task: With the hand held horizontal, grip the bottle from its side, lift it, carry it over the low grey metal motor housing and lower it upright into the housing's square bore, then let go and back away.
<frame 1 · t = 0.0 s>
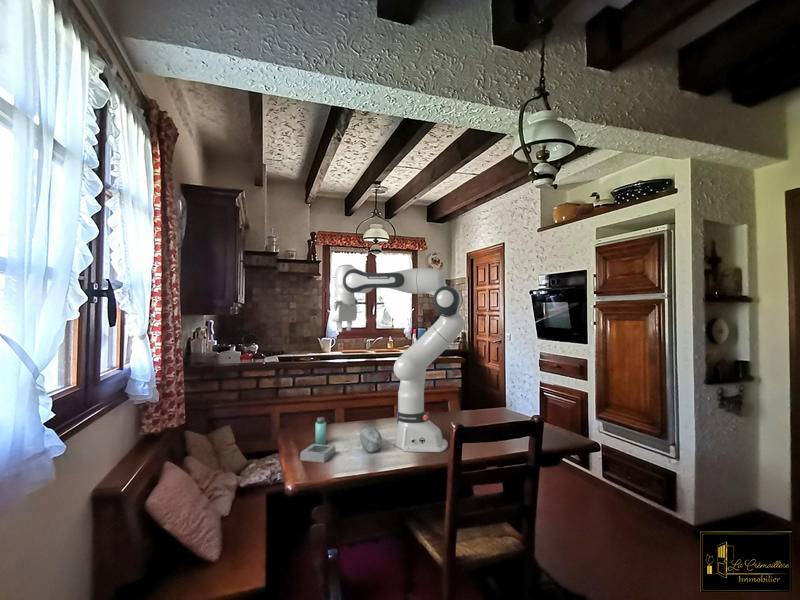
hand: (344, 331, 177), 48 cm above the table, fingers open, 8 cm apart
housing: (318, 456, 153), on the table
spool: (371, 449, 162), on the table
bottle: (320, 443, 168), on the table
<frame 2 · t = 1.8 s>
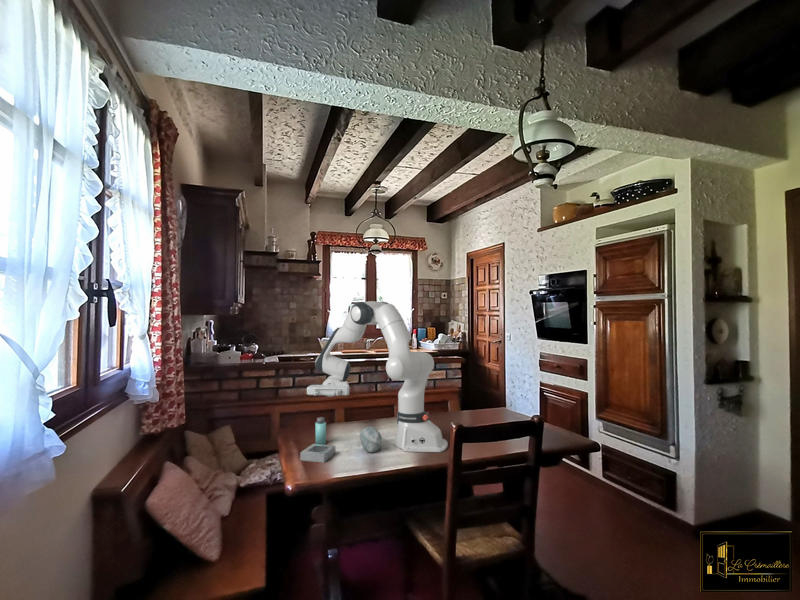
hand: (325, 393, 181), 19 cm above the table, fingers open, 8 cm apart
nothing on the table moved.
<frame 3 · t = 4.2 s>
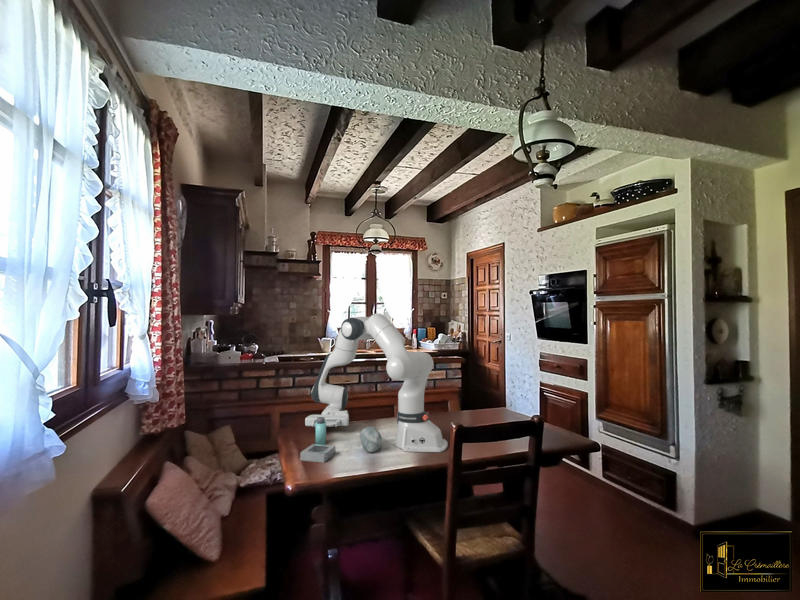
hand: (324, 425, 176), 6 cm above the table, fingers open, 8 cm apart
nothing on the table moved.
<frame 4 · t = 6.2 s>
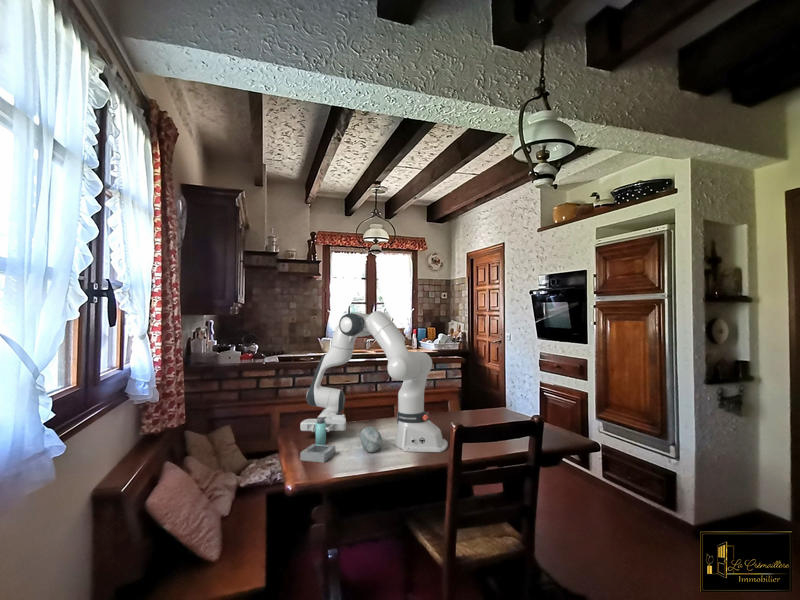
hand: (320, 430, 168), 6 cm above the table, fingers closed on bottle, 4 cm apart
bottle: (320, 443, 168), on the table, touching gripper
everything else where it was.
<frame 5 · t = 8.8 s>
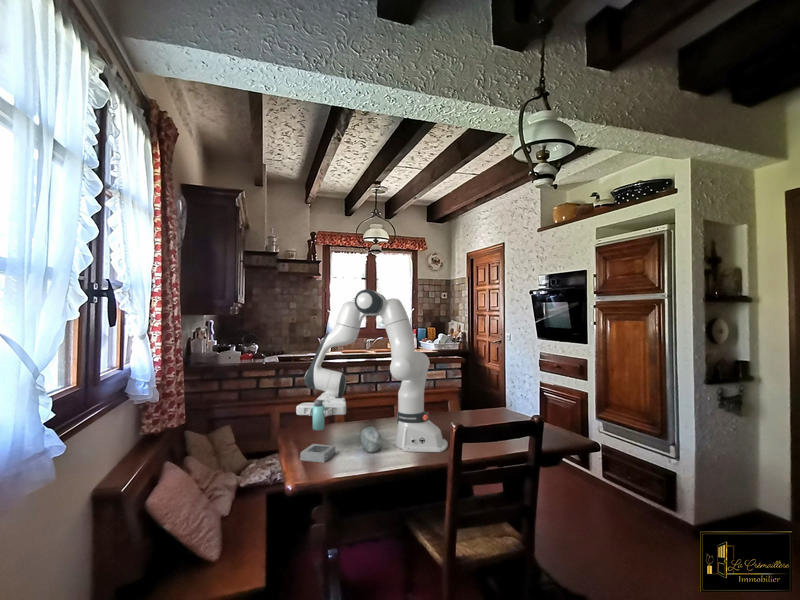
hand: (317, 413, 153), 17 cm above the table, fingers closed on bottle, 4 cm apart
bottle: (318, 428, 154), point 11 cm above the table, touching gripper
everything else where it was.
when the fingers open (8 cm above the table, at t = 11.3 s): bottle drops 2 cm, resting in housing.
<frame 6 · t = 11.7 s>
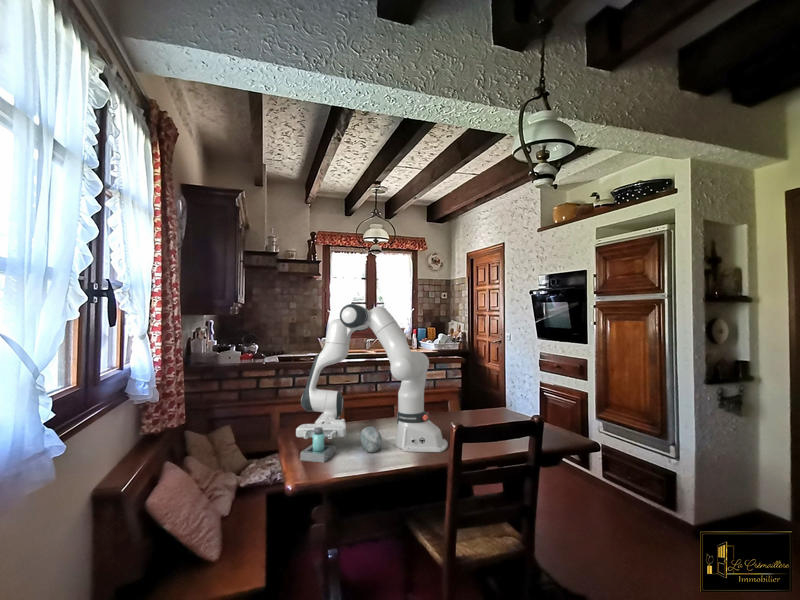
hand: (317, 436, 153), 8 cm above the table, fingers open, 8 cm apart
bottle: (318, 456, 153), resting in housing
everything else where it was.
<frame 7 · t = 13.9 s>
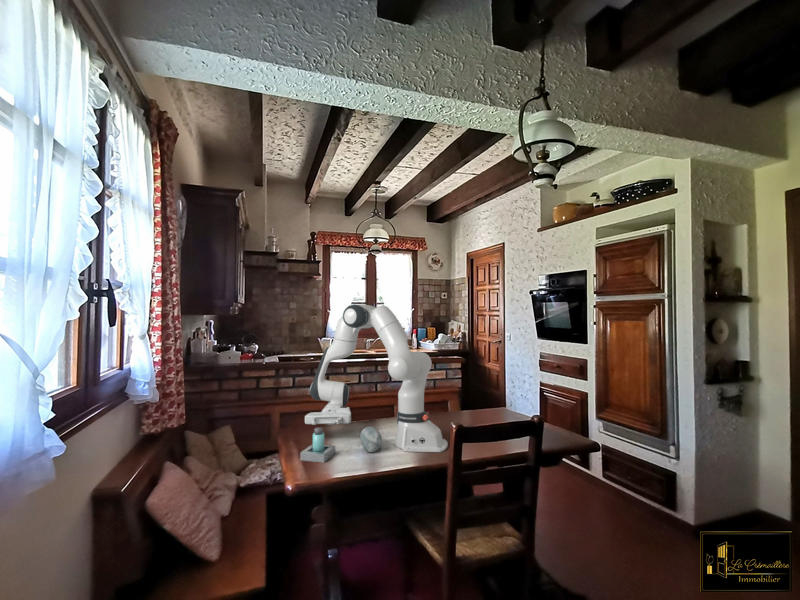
hand: (325, 422, 165), 10 cm above the table, fingers open, 8 cm apart
nothing on the table moved.
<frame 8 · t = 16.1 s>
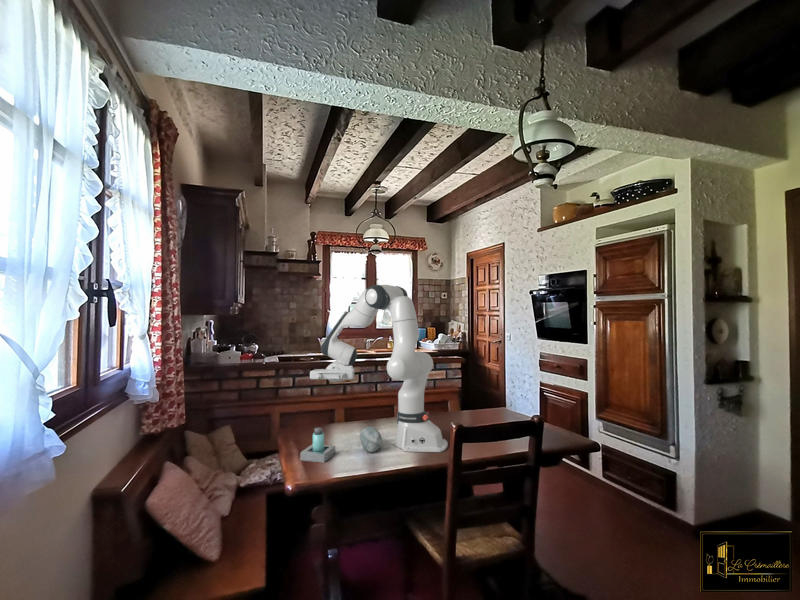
hand: (329, 377, 173), 28 cm above the table, fingers open, 8 cm apart
nothing on the table moved.
at the end: bottle 0.1 cm off-centre on the housing, point 0.0 cm above the housing's base; bottle tilted 0°; the gripper is holding nothing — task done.
